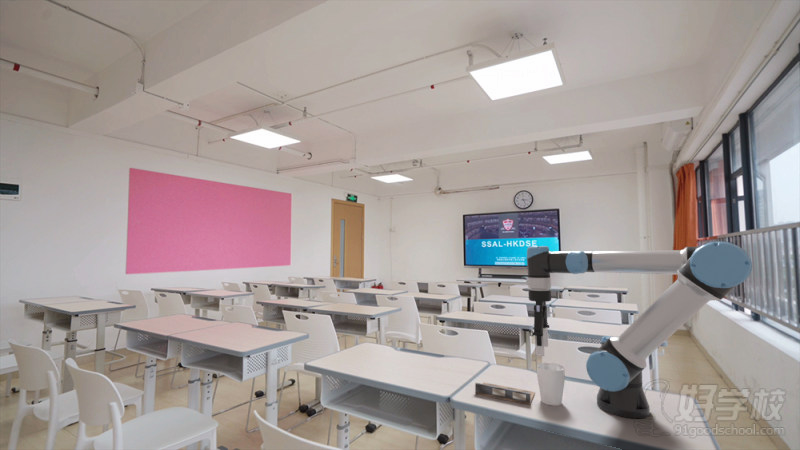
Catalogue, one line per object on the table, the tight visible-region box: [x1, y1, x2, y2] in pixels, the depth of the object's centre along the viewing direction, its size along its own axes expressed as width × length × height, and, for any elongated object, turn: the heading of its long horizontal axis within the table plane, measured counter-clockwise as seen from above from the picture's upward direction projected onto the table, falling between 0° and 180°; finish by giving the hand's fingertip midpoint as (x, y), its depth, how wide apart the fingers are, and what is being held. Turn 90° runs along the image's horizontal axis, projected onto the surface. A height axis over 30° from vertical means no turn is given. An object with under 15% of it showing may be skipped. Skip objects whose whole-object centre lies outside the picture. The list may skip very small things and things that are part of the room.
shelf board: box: [474, 382, 536, 406], centre depth 133 cm, size 19×11×4 cm, turn 62°
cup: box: [536, 362, 566, 407], centre depth 127 cm, size 9×9×12 cm
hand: (542, 350), depth 128 cm, fingers open, 13 cm apart
